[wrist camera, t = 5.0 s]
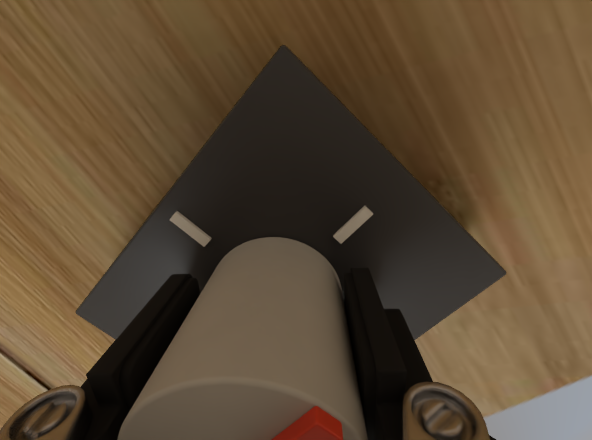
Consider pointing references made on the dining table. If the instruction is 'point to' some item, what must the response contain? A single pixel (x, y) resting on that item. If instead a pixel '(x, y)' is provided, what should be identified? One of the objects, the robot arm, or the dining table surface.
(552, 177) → the dining table surface
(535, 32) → the dining table surface
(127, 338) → the robot arm
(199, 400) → the timer knob
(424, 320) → the plate
